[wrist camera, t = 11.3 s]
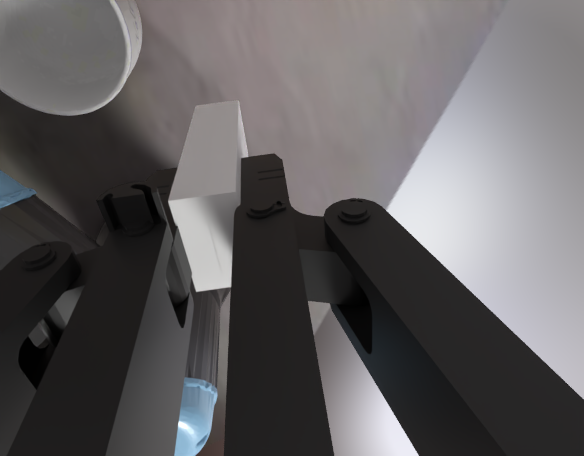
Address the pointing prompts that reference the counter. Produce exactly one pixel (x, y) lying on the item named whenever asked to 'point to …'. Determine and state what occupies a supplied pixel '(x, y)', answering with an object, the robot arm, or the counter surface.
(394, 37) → the counter surface
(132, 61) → the teacup
